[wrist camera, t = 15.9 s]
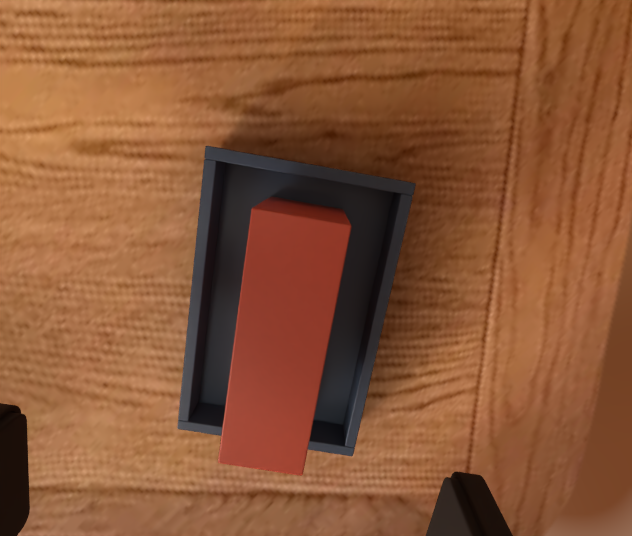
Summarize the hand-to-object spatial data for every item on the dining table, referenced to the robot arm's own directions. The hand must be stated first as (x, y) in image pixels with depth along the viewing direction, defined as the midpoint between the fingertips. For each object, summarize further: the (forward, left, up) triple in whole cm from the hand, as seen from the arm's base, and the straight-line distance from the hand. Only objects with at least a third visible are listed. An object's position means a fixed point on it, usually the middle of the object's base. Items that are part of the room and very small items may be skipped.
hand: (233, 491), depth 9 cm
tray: (+1, 0, -15) cm, 15 cm away
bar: (+1, 0, -14) cm, 14 cm away
